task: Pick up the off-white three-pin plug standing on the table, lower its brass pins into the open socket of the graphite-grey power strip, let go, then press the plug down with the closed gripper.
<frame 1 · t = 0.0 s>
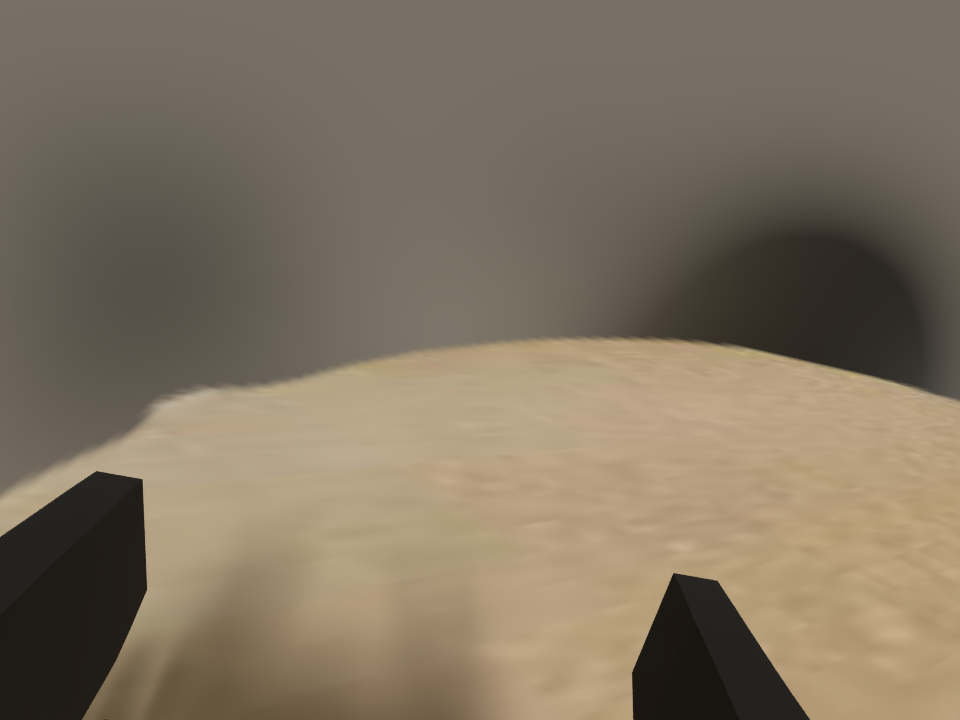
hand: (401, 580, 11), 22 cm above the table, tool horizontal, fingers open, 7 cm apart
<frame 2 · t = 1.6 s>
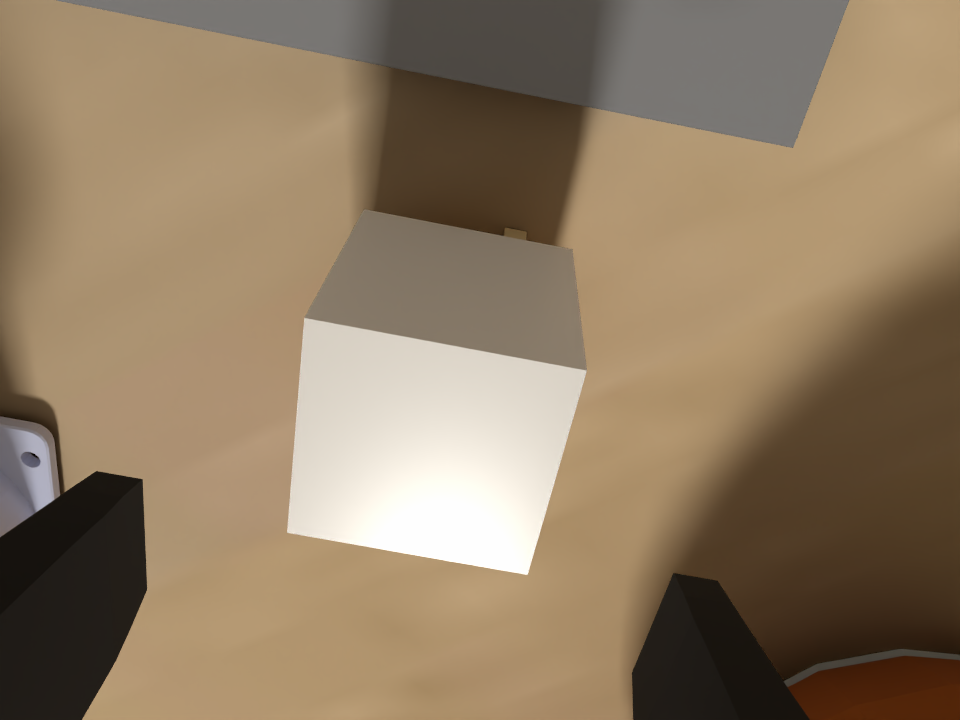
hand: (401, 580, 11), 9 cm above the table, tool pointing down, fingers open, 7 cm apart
plug: (457, 291, 19), on the table
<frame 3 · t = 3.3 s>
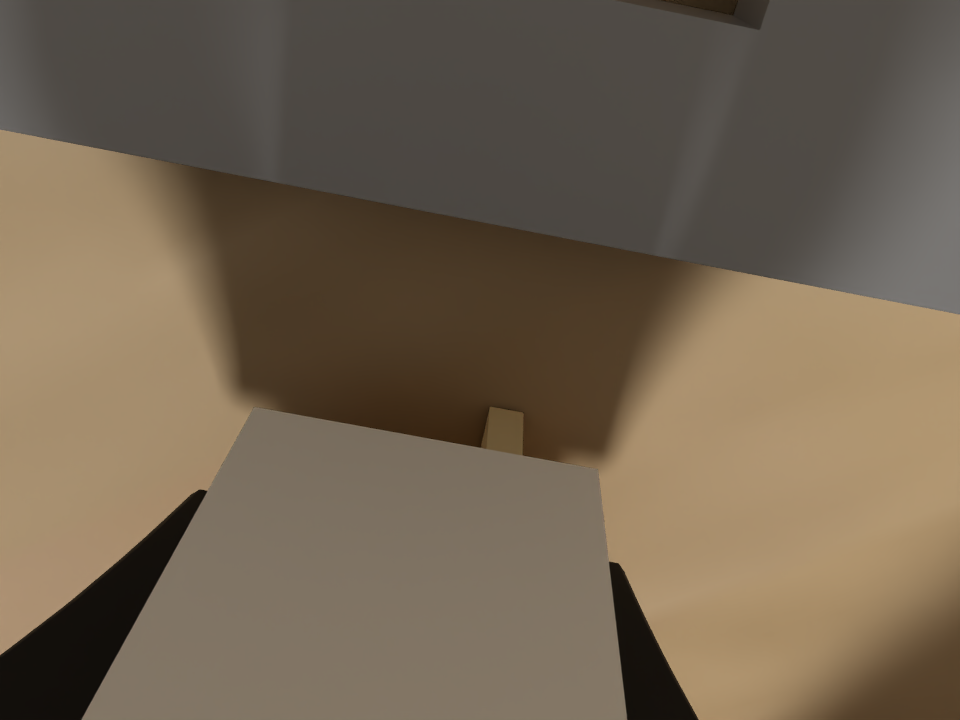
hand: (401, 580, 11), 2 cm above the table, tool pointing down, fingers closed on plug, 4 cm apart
plug: (418, 491, 13), on the table, touching gripper
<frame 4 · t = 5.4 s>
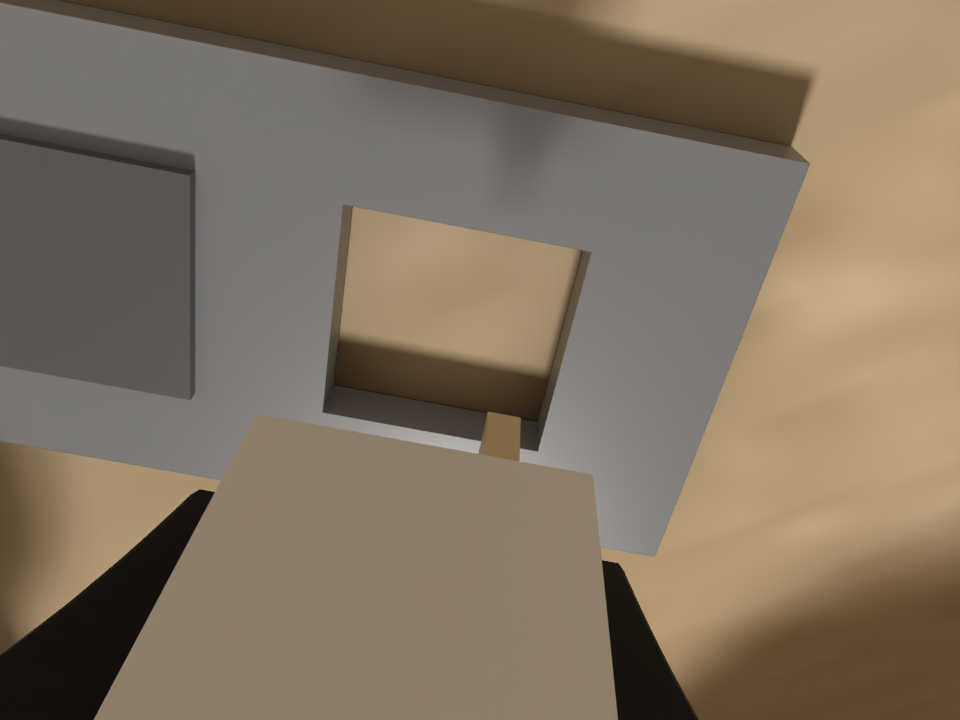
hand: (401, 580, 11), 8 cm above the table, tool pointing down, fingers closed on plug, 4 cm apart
plug: (418, 493, 13), point 6 cm above the table, touching gripper
socket strip: (277, 279, 18), on the table
when the fingers open (3 cm above the table, at t = 7.4 s): plug stays where it is, resting in socket strip.
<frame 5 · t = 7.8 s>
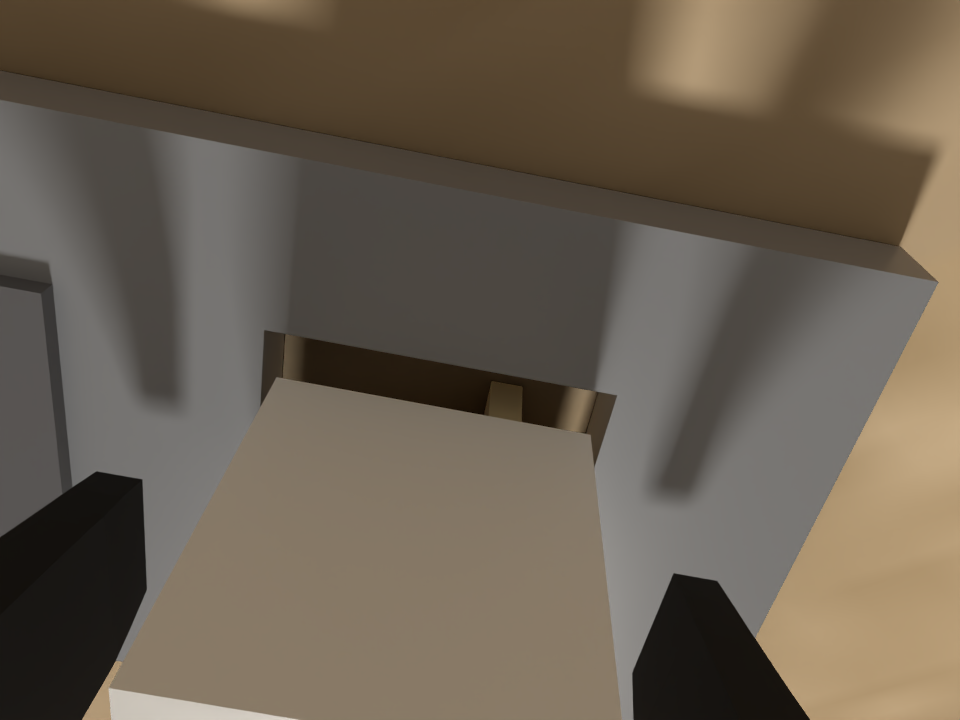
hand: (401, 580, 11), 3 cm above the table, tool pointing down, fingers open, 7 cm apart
plug: (425, 461, 14), resting in socket strip
socket strip: (188, 410, 13), on the table
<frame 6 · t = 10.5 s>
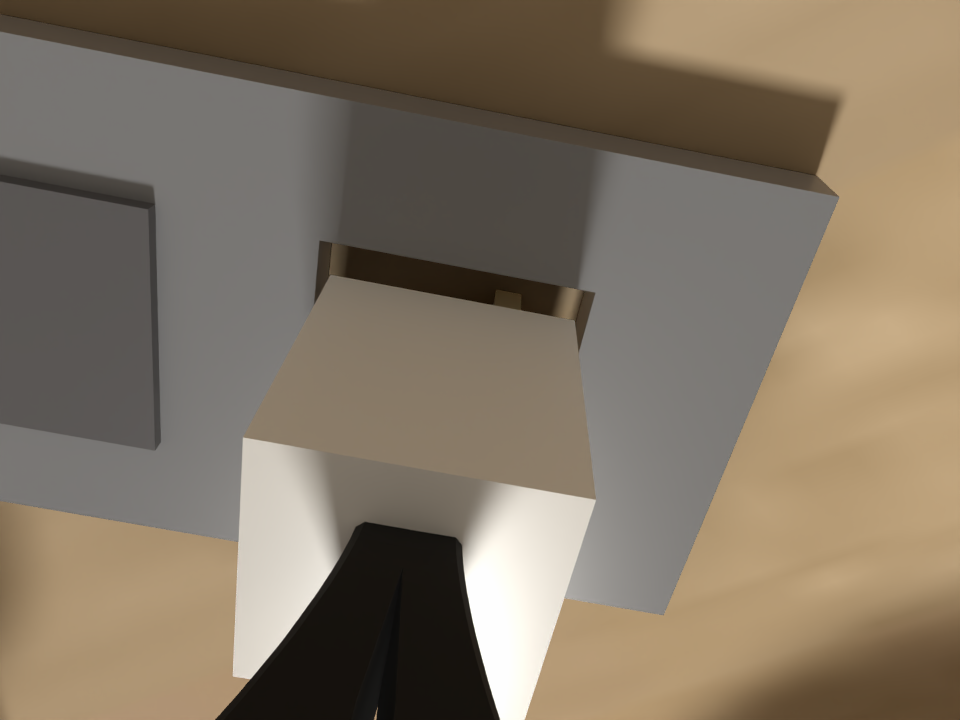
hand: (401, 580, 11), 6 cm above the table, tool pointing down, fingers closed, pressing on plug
plug: (442, 359, 17), resting in socket strip, touching gripper
socket strip: (250, 318, 16), on the table
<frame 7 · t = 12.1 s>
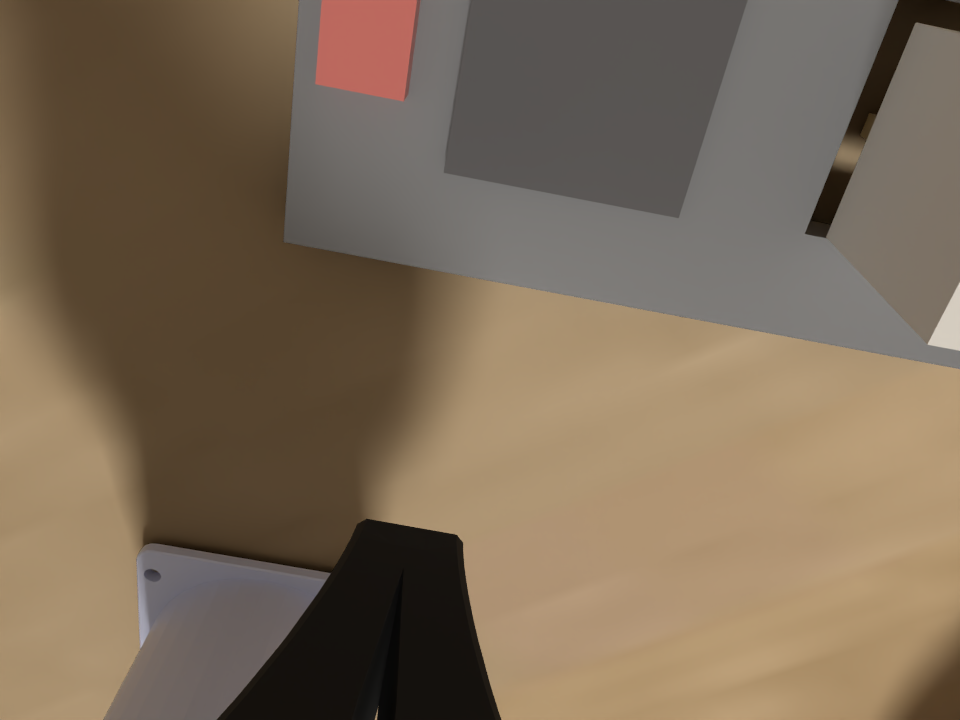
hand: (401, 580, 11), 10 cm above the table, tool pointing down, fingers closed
plug: (935, 138, 18), resting in socket strip
socket strip: (764, 96, 18), on the table
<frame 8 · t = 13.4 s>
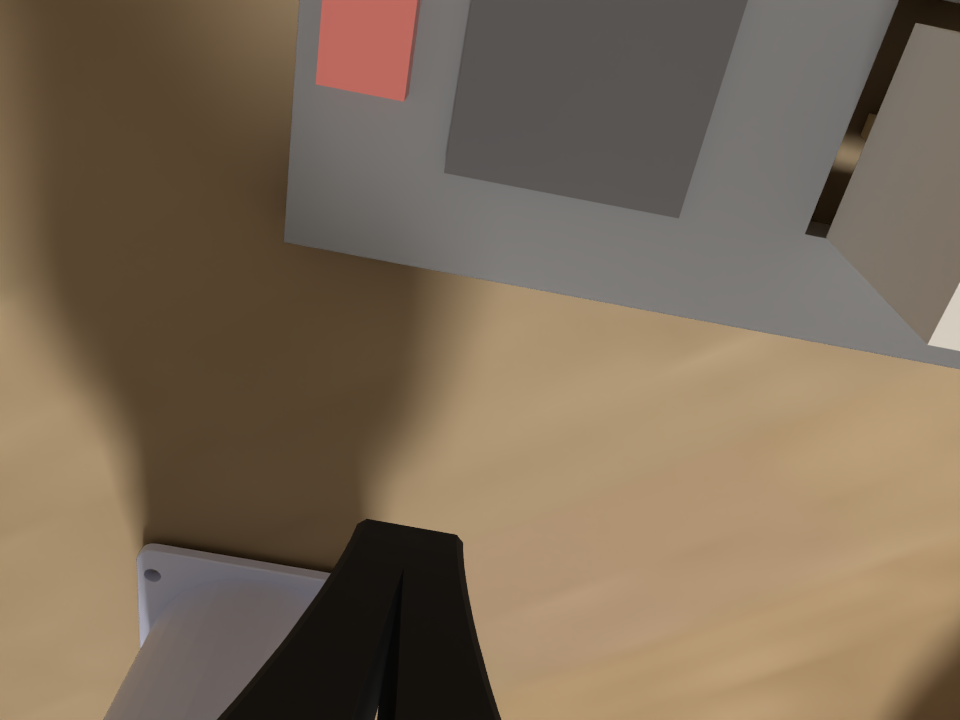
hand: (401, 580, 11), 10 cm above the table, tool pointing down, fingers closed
plug: (935, 139, 18), resting in socket strip
socket strip: (764, 96, 18), on the table
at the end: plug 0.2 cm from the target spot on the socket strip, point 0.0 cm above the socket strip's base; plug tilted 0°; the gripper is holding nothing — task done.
